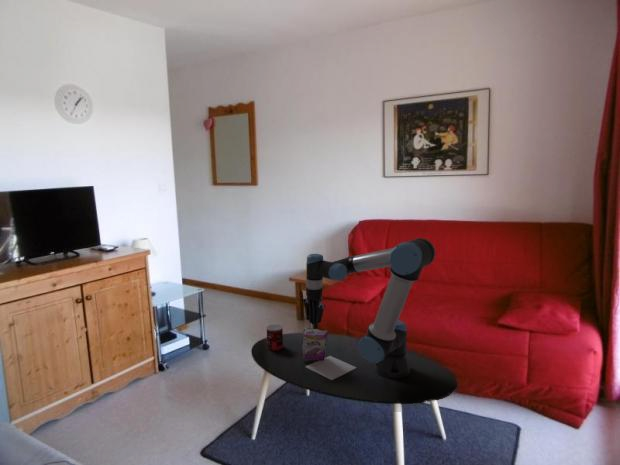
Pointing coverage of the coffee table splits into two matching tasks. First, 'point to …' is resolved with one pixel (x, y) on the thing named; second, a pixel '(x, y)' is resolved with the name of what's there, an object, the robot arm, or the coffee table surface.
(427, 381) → the coffee table surface
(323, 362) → the mat
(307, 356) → the candy bar box
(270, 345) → the canned food
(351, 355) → the coffee table surface
